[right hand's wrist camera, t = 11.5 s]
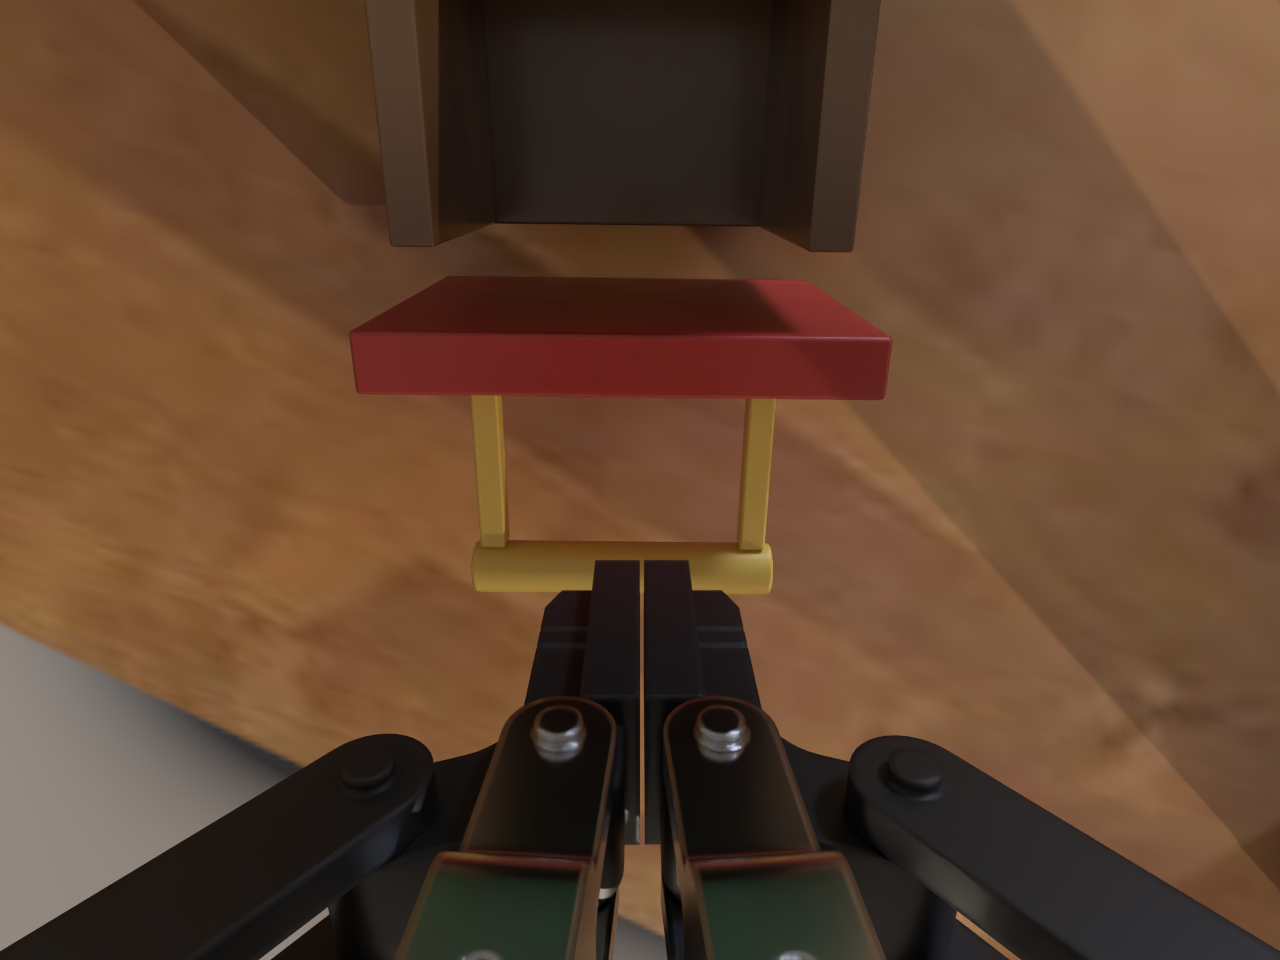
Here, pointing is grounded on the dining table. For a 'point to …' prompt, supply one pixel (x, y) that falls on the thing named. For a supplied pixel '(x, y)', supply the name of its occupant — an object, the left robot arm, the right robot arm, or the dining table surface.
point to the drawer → (622, 195)
